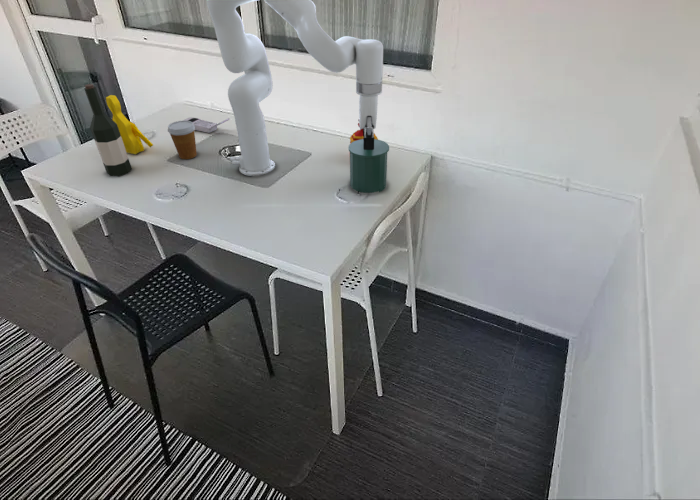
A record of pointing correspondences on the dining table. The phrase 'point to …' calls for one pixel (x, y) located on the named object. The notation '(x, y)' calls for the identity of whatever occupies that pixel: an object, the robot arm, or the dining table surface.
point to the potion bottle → (358, 135)
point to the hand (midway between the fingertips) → (368, 142)
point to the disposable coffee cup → (183, 138)
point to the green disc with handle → (358, 150)
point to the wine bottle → (107, 137)
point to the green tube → (368, 173)
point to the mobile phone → (204, 124)
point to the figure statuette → (126, 128)
